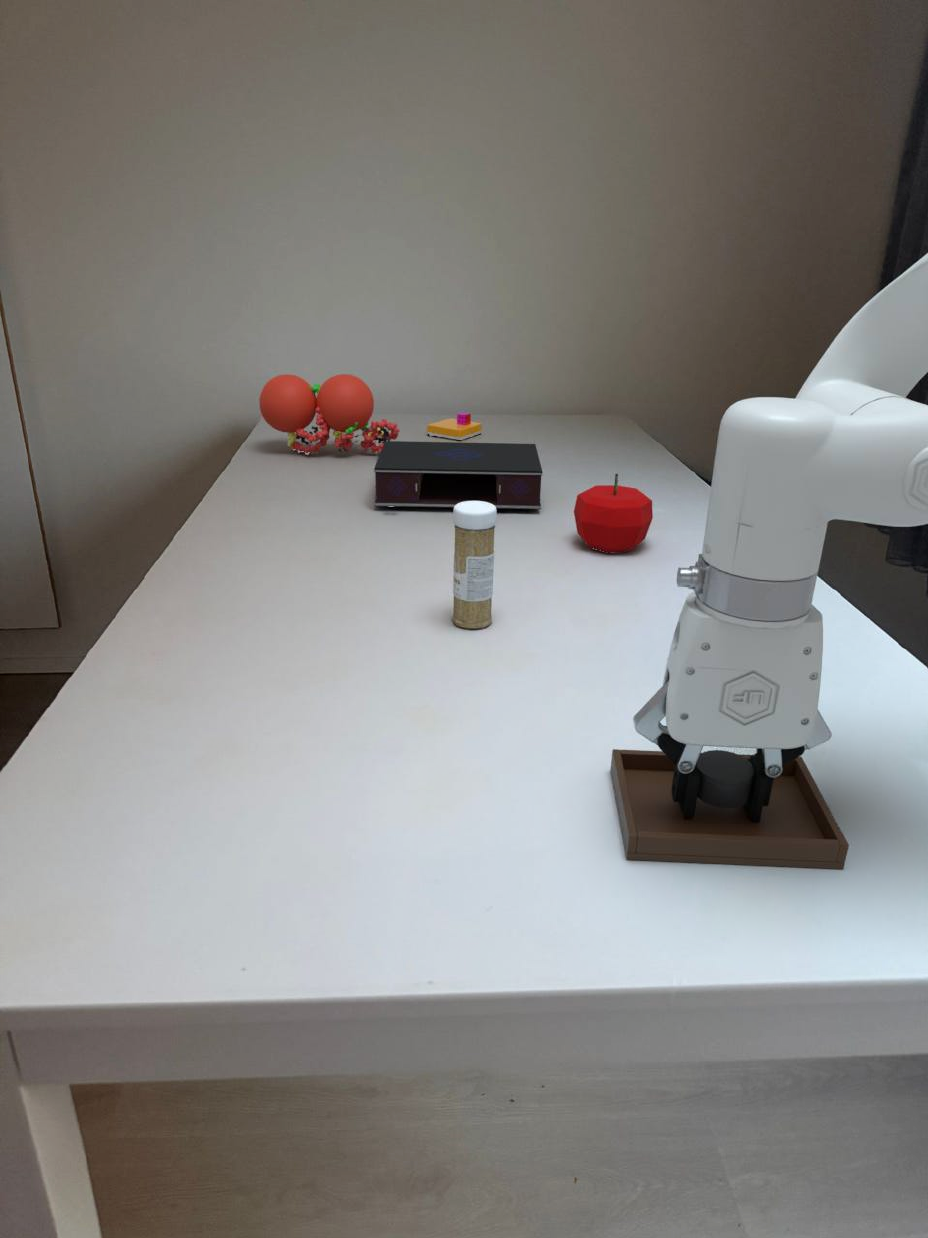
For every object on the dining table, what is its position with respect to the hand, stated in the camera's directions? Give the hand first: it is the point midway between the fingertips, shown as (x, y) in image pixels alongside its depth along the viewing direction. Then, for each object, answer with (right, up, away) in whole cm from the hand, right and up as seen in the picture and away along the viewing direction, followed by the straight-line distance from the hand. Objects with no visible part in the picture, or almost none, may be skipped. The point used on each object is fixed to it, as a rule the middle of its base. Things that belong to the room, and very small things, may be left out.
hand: (717, 807), depth 69 cm
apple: (+1, +24, +56) cm, 61 cm away
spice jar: (-18, +14, +32) cm, 39 cm away
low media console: (-20, +34, +76) cm, 86 cm away
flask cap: (0, +3, -1) cm, 3 cm away
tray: (0, -1, 0) cm, 1 cm away
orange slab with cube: (-21, +52, +115) cm, 128 cm away
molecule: (-44, +45, +99) cm, 117 cm away
